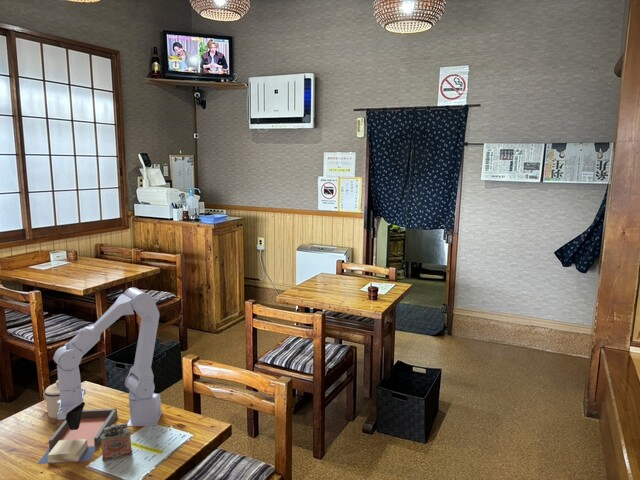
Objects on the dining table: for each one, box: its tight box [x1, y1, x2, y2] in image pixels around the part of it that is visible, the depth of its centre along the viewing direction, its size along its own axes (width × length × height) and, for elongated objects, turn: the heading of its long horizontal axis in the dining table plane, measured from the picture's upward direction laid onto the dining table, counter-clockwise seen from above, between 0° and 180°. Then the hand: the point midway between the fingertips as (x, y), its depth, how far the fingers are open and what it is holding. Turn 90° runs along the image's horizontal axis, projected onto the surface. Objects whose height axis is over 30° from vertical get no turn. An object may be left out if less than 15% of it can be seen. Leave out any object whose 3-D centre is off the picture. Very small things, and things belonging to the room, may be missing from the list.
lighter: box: [100, 422, 133, 462], centre depth 137 cm, size 8×3×10 cm, turn 113°
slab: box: [48, 439, 88, 464], centre depth 138 cm, size 8×7×2 cm
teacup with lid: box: [42, 379, 60, 419], centre depth 161 cm, size 12×9×12 cm
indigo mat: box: [37, 446, 99, 465], centre depth 138 cm, size 14×7×1 cm, turn 95°
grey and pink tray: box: [48, 408, 118, 449], centre depth 150 cm, size 14×17×3 cm
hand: (74, 428), depth 143 cm, fingers closed
